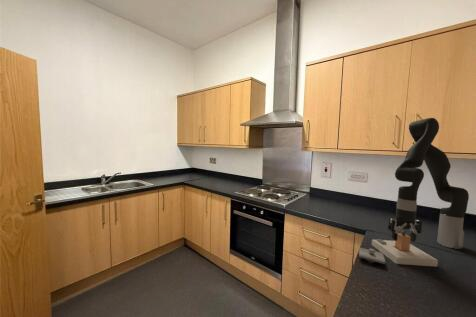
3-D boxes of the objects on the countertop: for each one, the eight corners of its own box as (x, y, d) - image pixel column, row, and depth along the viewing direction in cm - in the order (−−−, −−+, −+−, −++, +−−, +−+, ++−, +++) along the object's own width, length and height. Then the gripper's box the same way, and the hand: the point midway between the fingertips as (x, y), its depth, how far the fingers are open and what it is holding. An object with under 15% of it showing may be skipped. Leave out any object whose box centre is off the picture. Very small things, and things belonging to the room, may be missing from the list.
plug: (402, 252, 102) (404, 229, 101) (408, 257, 98) (411, 233, 97) (394, 252, 102) (396, 229, 102) (400, 256, 98) (402, 232, 98)
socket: (405, 247, 109) (406, 240, 109) (437, 266, 91) (438, 258, 91) (371, 244, 109) (372, 238, 109) (396, 263, 92) (396, 255, 91)
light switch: (382, 258, 96) (383, 248, 96) (385, 268, 87) (386, 257, 87) (358, 252, 101) (359, 242, 100) (358, 261, 92) (359, 250, 92)
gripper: (414, 206, 102) (412, 237, 103) (386, 205, 103) (383, 236, 104) (428, 211, 95) (425, 244, 96) (397, 209, 95) (394, 243, 96)
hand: (403, 240), depth 100 cm, fingers open, 8 cm apart
